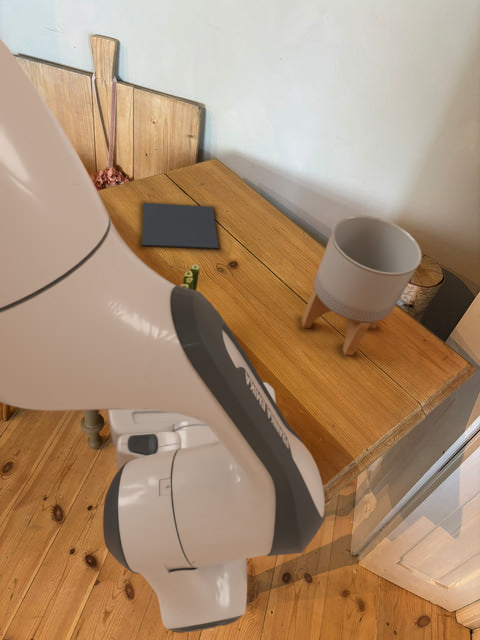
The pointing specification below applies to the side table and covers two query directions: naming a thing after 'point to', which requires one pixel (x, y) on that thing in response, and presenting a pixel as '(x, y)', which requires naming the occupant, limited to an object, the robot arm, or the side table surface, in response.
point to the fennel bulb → (191, 278)
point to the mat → (179, 226)
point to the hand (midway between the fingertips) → (191, 359)
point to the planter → (362, 274)
